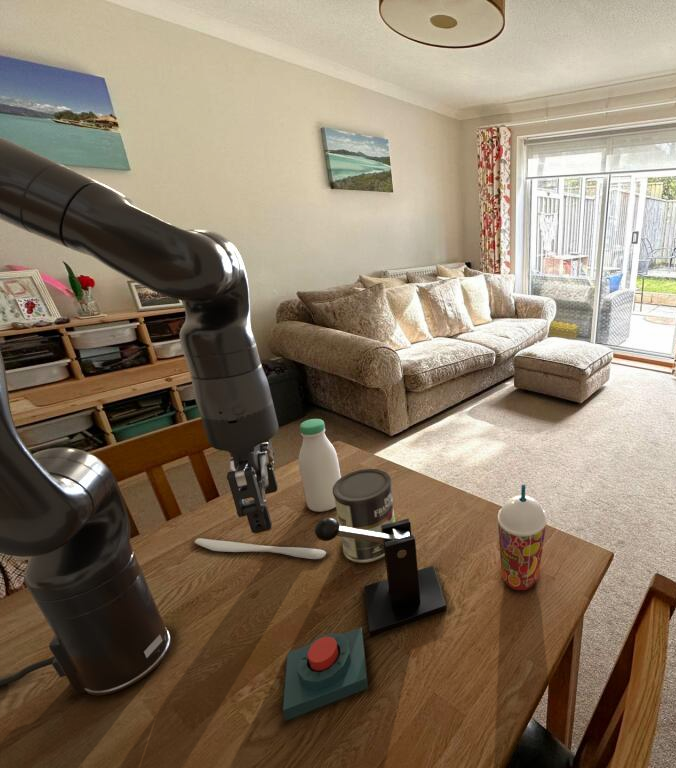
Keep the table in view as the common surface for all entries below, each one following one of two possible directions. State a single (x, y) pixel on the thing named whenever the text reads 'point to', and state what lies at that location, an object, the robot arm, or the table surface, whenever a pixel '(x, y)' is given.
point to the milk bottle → (318, 466)
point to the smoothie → (521, 540)
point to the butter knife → (260, 548)
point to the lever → (353, 532)
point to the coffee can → (364, 510)
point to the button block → (324, 675)
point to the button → (323, 653)
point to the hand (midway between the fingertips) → (266, 509)
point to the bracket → (402, 586)
